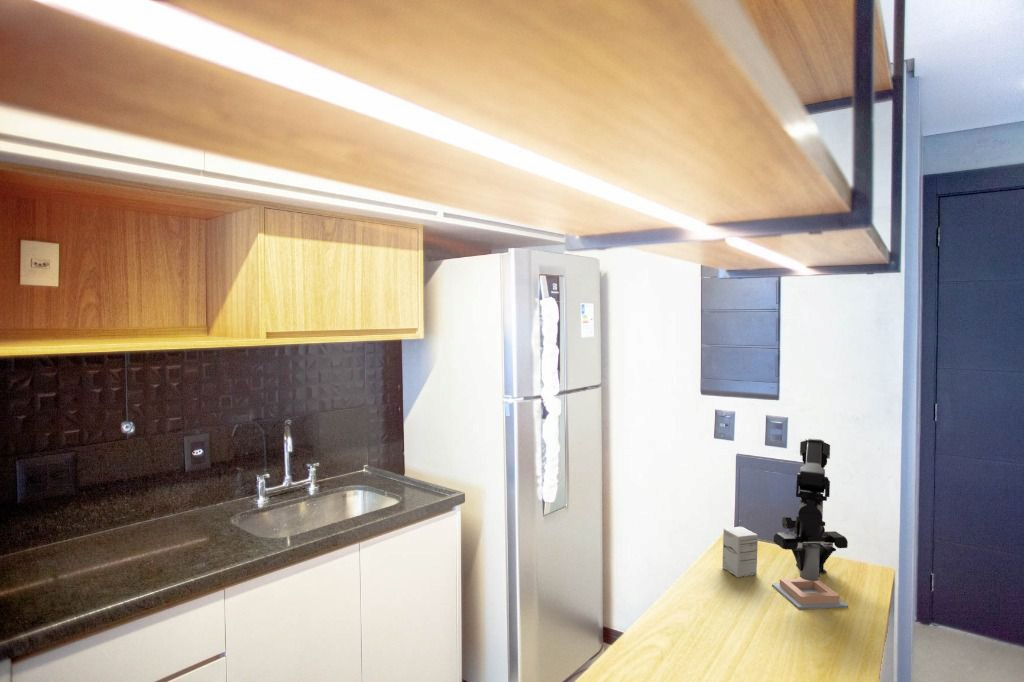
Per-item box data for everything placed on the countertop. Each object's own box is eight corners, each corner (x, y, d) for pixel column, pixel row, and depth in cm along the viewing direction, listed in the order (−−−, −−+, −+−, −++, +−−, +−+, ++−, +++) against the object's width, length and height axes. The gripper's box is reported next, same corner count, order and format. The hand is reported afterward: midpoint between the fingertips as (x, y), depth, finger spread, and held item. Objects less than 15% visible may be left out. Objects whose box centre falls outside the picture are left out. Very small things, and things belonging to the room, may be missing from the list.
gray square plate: (817, 584, 176) (817, 575, 176) (848, 607, 162) (848, 598, 162) (771, 585, 175) (772, 576, 174) (798, 609, 161) (798, 599, 160)
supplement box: (721, 568, 186) (722, 528, 186) (741, 565, 189) (742, 525, 188) (737, 578, 179) (738, 536, 179) (757, 575, 182) (758, 534, 181)
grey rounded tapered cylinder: (812, 573, 170) (813, 542, 170) (822, 580, 166) (823, 549, 165) (796, 573, 170) (797, 542, 170) (806, 581, 165) (806, 549, 165)
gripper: (825, 505, 176) (823, 557, 177) (764, 506, 174) (763, 559, 175) (849, 518, 165) (848, 574, 166) (784, 520, 163) (783, 576, 164)
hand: (809, 570), depth 168 cm, fingers closed on grey rounded tapered cylinder, 5 cm apart
